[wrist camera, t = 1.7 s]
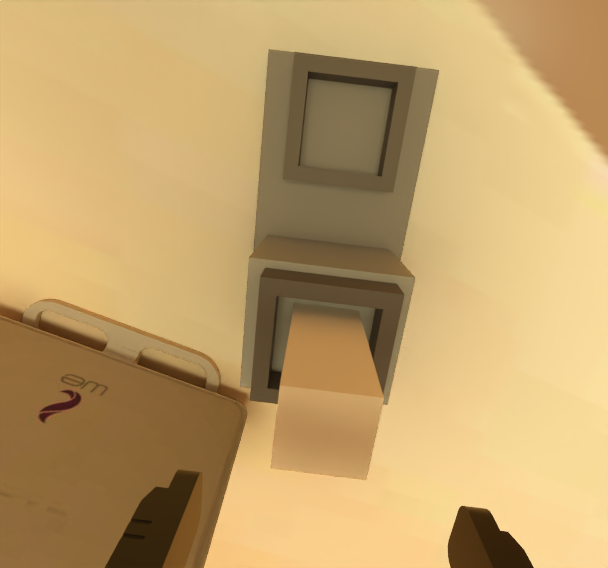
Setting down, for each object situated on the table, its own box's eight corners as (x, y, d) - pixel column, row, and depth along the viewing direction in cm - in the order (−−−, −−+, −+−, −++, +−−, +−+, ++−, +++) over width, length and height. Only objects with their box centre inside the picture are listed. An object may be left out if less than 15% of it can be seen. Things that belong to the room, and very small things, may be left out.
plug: (294, 302, 22) (279, 385, 14) (358, 310, 22) (384, 398, 14) (286, 370, 24) (268, 483, 15) (346, 377, 24) (363, 494, 15)
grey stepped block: (270, 53, 26) (238, -24, 16) (434, 73, 26) (512, 9, 16) (249, 328, 33) (217, 403, 22) (380, 344, 33) (409, 426, 22)
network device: (261, 374, 34) (191, 630, 15) (232, 443, 37) (141, 736, 18) (-6, 276, 32) (-473, 429, 13) (-17, 356, 35) (-421, 581, 16)
